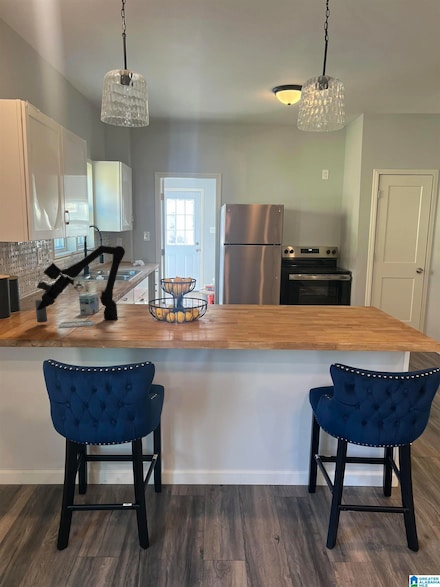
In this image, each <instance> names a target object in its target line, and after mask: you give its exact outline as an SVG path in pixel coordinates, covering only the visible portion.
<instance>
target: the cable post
mask: <svg viewBox="0 0 440 587" xmlns="http://www.w3.org/2000/svg"><path fill="white" fill-rule="evenodd" d="M41 302H42V298H41V299H40V298H39V299H35V300H34V304H35V314H36V323H41V324H42V323H46V322H48V314H47V307H45V308H43V309H41V310H37V308H38V306H39V305H40V303H41Z"/></svg>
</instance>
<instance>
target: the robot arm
mask: <svg viewBox="0 0 440 587" xmlns="http://www.w3.org/2000/svg"><path fill="white" fill-rule="evenodd" d="M103 254H107V255H112V259H111V260H112V261H111V265H110V269H109V273H108V276H107V280H106V284H105V288H104V289H101V290H100V292H101V293H100V295H99V300H100V302H101V305H103V307H104V306H105V307H104V310H103V319H104V321H117V320H118V319H119V317H118V307H117V303H116V301H115V300H113V293H114V286H115V283H116V280H117V279H116V278H117V274H118V270H119V266H120V264H121V262H122V260H123V258H124V256H125V254H126V250H125V248H124V247H123V246H121V245H116V246H110V245H108V246H107V245H99V246H98V247H97V248H96V249H94V250H93V251H91V252H90V253H89V254H87V256H85V257H84V258H82V259H80V261H77V262H76V263H73V264H72V265H70V266H68V267H67V268H62V269H61V268H59V266H57V264H55V263H54V262H52V263H51V264H50V265H49V266H47V268H45V270H44V271H43V274H44V275H45V276H46V277H48V278H49V279H50V280H55V282H53V283H51V284H50V283H47V282H46V281H43V280H40V281H39V282H38V284H37V286H36V288H37V289H41V290H43V291H44V293H43V294H42V296H41V299H42V302H41V303H40V305H39V306H38V308H37V310H41V309H43V308H45V307H46V308H47V307H49V306H52V305H54V303H56V299H57V298H58V297H59V296H60V294H62V293H63V292H64V290H65V289H66V288H67V287H68V286H69V285H70V284H71V285H72V286H74V285H75V279H74V278H76V277H78V275H79V274H80V273H81V272H82V271H83V270H84V269H85V268H86V267H87V266H88V265H89V264H91V263H93V261H95V260H97V258H99V257H100V256H101V255H103ZM72 278H73V279H72Z"/></svg>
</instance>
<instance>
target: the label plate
mask: <svg viewBox="0 0 440 587" xmlns="http://www.w3.org/2000/svg"><path fill="white" fill-rule="evenodd" d="M94 322H95V320H94V319H92V320H78V321H77V320H76V321H62V322H60V324H59V326H58V328H59V329H66V328H67V329H68V328H77V327H78V328H79V327H92V326H94Z"/></svg>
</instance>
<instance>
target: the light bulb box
mask: <svg viewBox="0 0 440 587" xmlns="http://www.w3.org/2000/svg"><path fill="white" fill-rule="evenodd" d="M78 298H79V299H78V300H79V311H80V312H79V313H80V315H94V314H95V313H98V312H100V301H99V300H100V296H99V293H98V292H87V293H83V294H81V295H79V297H78Z"/></svg>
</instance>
